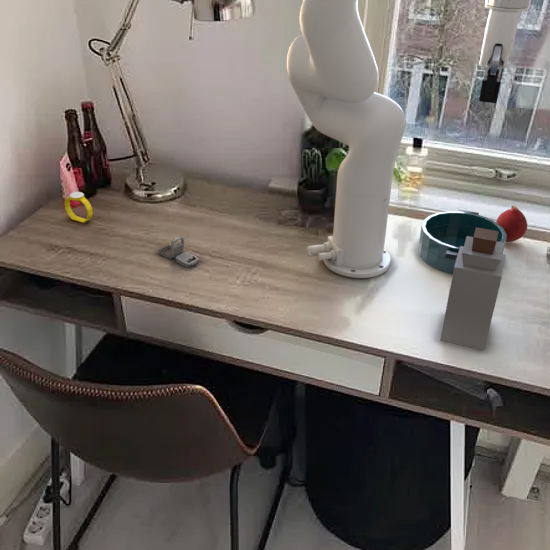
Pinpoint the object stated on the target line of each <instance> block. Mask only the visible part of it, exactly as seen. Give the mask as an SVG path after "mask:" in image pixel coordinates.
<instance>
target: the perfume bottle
mask: <svg viewBox="0 0 550 550" xmlns="http://www.w3.org/2000/svg"><path fill="white" fill-rule="evenodd" d="M498 232H499V231H494V230H488V229H482V228H477V227H476V229H475V233H474V237H469V236H467V237H466V241H465V244H464V247H463V246H460V249H459V252H458V256H457V259H456V263H455V266H454V271H453V275H452V278H451V282H450V286H449V292H448V298H447V303H446V308H445V313H444V317H443V323H442V328H441V334H440V339H439V341H443V342H447V343H451V344H454V345H455V344H456V345H459V346H463V347H464V346H465V347H468V348H472V349H476V350H481V351H485V349H486V344H487V340H488V336H489V332H490V327H491V324H492V321H493V315H494V312H495V307H496V303H497V299H498V295H499V291H500V287H501V283H502V279H503V272H504V268H505V267H504V266H505V262H506V254H505V253H503V254H502V250H503V244H504V243H502V242H497V237H498Z"/></svg>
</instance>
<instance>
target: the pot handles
mask: <svg viewBox="0 0 550 550" xmlns="http://www.w3.org/2000/svg"><path fill="white" fill-rule="evenodd" d="M457 211H459V212H467V213H473V214H477V215H480V212H476V211H471V210H464V209H458V210H457ZM458 252H459V251H455V250H450V249H447V251H446V255H445V258H449V259H455V260H456V259H457V256H458Z"/></svg>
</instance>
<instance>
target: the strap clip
mask: <svg viewBox="0 0 550 550" xmlns="http://www.w3.org/2000/svg"><path fill="white" fill-rule="evenodd" d="M178 241H180V242H178ZM177 242H178V243H177ZM175 243H176V244H175ZM184 249H185V238H184V236H180V235H179V236H177V237H174V238H173V240H172V241H171V243H170V245H166V246H164V247H162V248H160V249H159V250H158V253H159V254H160V255H161V256H163V257H165V258H168V259H170V260H171V259H172V260H173V259H175V262H176V263H177V264H179V265H181V266H183V267H187V268H190V267H192V266H195V265H196V264H198V263H199V261H200V259H199V257H197V256H196V255H195V254H192V253H190V252H187V251H184Z"/></svg>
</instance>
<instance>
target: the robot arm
mask: <svg viewBox="0 0 550 550" xmlns="http://www.w3.org/2000/svg"><path fill="white" fill-rule="evenodd" d="M530 2H531V0H485V4H484V8H486V9H488V10H489V12H488V17H487V21H486V25H485V30H484V36H483V41H482V46H481V52H480V58H479V59H480V60H479V63H478V65H479V66H480V67H484V66H485V70H484V76H483V78H482V82H481V87H480V92H479V97H478V101H479V102H480V103H481V102H482V103H489V104H496V103H497V102H498V99H499V98H498V97H499V92H500V87H501V83H502V76H503V72H504V69H505V68H506V67H507V65H508V62H509V59H510V56H511V53H512V49H513V46H514V42H515V38H516V33H517V30H518V24H519V22H520V21H519V20H520V16H521V12H526V11H528V10H529V7H530ZM358 4H359V0H302V3H301V6H300V10H299V17H298V18H299V19H298V20H299V27H300V31H301V33H300V34H298V35H297V36H296V37H295V38H294V39H293V40H292V42H291V44H290V46H289V48H288V51H287V55H286V72H287V77H288V79H289V83H290V84H291V86H292V89H293V90H294V92H295V95H296V96H297V99H298V100H299V103H300V104H301V107H302V108H303V110H304V112H305V114H306V116H307V118H308V120H309V121H310V123H311V125H312V126H313V127H314V128H315V129H316V130H317V131H318V132H320V133H321V134H323V135H325V136H326V137H329V138H331V139H333V140H335V141H337V142H340V143H342V144H344V145H346V146H347V147H348V148H349V150H348V153H347V154H346V156H345V157H344V159H342V161H341V163H340V165H339V167H338V170H337V176H336V189H335V191H336V192H335V202H334V203H335V204H334V217H333V229H332V230H333V231H332V235H329V236H327V241H324V242H323V243H322V244H313V245H307V247H306V252H307V256H308V257H314V256H317V257H318V261H319V262H321V261H323V264H324V265H325V267H327V268H328V269H329V270H330V271H332V272H333V273H335V274H338V275H341V276H344V277H347V278H352V279H368V278H369V279H370V278H374V277H378V276H380V275H382V274H384V273H386V272H387V271H388V270H389V269H390V266H391V263H392V258H391V255H390V252H388V250H386V249H385V242H386V234H387V226H388V218H389V210H390V201H391V194H392V185H393V176H394V170H395V164H396V160H397V156H398V152H399V149H400V146H401V143H402V141H403V138H404V134H405V130H406V124H407V123H406V122H407V120H406V115H405V112H404V110H403V109H402V107H401V106H400V105H399V104H398V103H397V102H396V101H395V100H393V99H392V98H390V97H389V96H386V95H384V94H381V93H379V92H376V91H377V88H378V86H379V78H380V77H379V76H380V75H379V69H378V65H377V61H376V59H375V55H374V53H373V50H372V47H371V45H370V41H369V39H368V37H367V34H366V31H365V27H364V26H363V23H362V19H361V16H360V13H359V5H358Z"/></svg>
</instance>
